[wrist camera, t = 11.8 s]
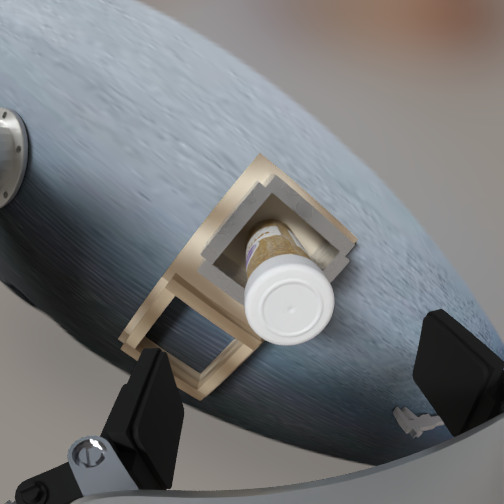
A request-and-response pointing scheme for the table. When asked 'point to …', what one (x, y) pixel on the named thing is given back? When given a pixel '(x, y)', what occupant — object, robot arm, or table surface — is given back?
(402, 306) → the table surface
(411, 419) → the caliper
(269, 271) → the sprinkles bottle
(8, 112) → the robot arm
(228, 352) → the stand board
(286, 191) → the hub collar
